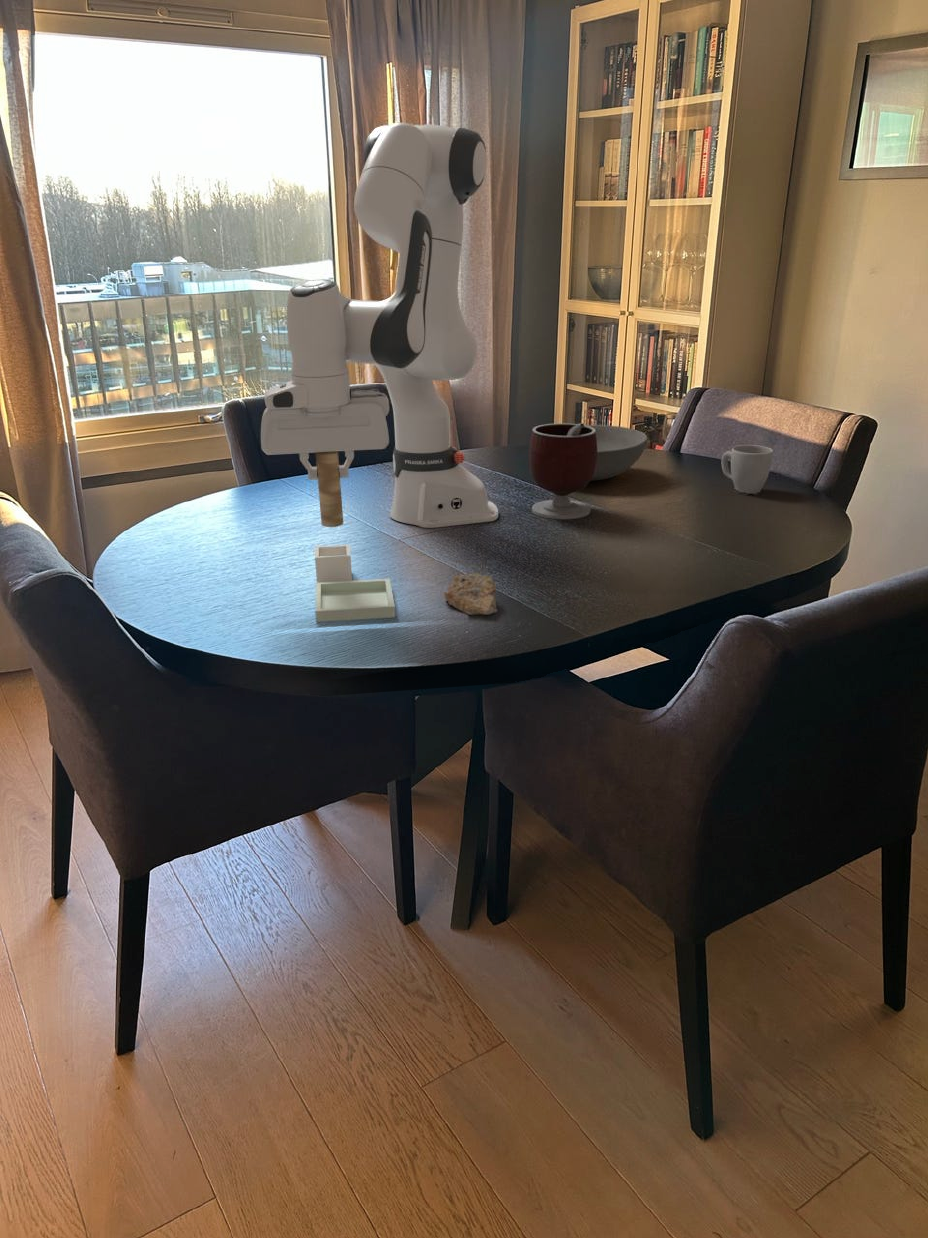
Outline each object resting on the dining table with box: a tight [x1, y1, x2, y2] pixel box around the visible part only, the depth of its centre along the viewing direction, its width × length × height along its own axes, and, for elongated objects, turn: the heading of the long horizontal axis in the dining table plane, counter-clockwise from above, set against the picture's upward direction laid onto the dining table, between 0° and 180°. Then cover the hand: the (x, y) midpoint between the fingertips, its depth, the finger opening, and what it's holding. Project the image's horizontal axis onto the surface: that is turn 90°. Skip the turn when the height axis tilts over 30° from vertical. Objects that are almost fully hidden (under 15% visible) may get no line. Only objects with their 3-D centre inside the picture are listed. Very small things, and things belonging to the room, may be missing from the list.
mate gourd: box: [528, 422, 597, 520], centre depth 189 cm, size 16×14×20 cm
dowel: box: [314, 451, 344, 528], centre depth 149 cm, size 4×4×12 cm
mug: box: [720, 444, 774, 493], centre depth 205 cm, size 12×9×10 cm
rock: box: [443, 572, 498, 616], centre depth 145 cm, size 9×6×10 cm
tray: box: [314, 578, 396, 623], centre depth 144 cm, size 12×12×2 cm
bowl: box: [585, 424, 649, 482], centre depth 217 cm, size 26×26×10 cm
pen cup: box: [314, 544, 353, 583], centre depth 154 cm, size 6×6×6 cm
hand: (328, 478), depth 149 cm, fingers closed on dowel, 4 cm apart
